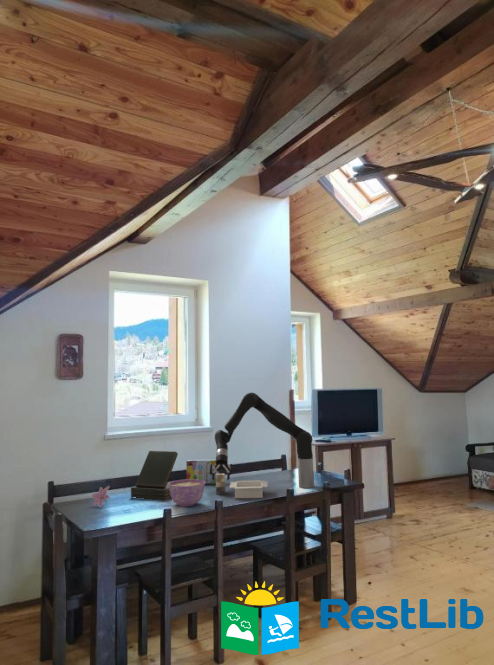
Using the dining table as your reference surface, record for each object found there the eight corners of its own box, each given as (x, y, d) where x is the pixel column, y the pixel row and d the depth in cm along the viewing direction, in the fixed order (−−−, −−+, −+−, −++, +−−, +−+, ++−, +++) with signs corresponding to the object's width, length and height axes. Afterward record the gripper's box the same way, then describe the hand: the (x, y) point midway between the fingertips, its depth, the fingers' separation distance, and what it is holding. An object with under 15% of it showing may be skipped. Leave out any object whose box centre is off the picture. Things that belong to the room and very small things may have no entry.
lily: (90, 505, 265) (85, 492, 261) (110, 494, 271) (105, 481, 267) (98, 516, 255) (92, 502, 252) (118, 504, 261) (113, 490, 258)
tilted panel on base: (130, 498, 276) (130, 454, 278) (149, 491, 294) (149, 450, 297) (164, 501, 267) (164, 455, 270) (182, 493, 285) (181, 451, 288)
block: (225, 492, 284) (224, 473, 285) (224, 494, 279) (224, 474, 280) (216, 492, 284) (216, 473, 285) (216, 494, 279) (215, 475, 280)
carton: (267, 490, 286) (267, 480, 286) (268, 498, 264) (267, 487, 265) (231, 491, 286) (231, 481, 287) (229, 499, 265) (229, 488, 265)
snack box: (219, 482, 315) (219, 458, 317) (218, 483, 310) (217, 460, 311) (188, 482, 317) (187, 459, 319) (186, 484, 312) (186, 460, 314)
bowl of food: (160, 505, 255) (160, 483, 256) (188, 498, 270) (188, 477, 271) (185, 511, 242) (185, 488, 243) (213, 503, 257) (213, 481, 258)
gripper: (210, 454, 298) (208, 476, 285) (232, 453, 298) (232, 475, 285) (211, 461, 302) (209, 483, 290) (233, 460, 302) (232, 483, 290)
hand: (220, 479), depth 287 cm, fingers open, 8 cm apart
